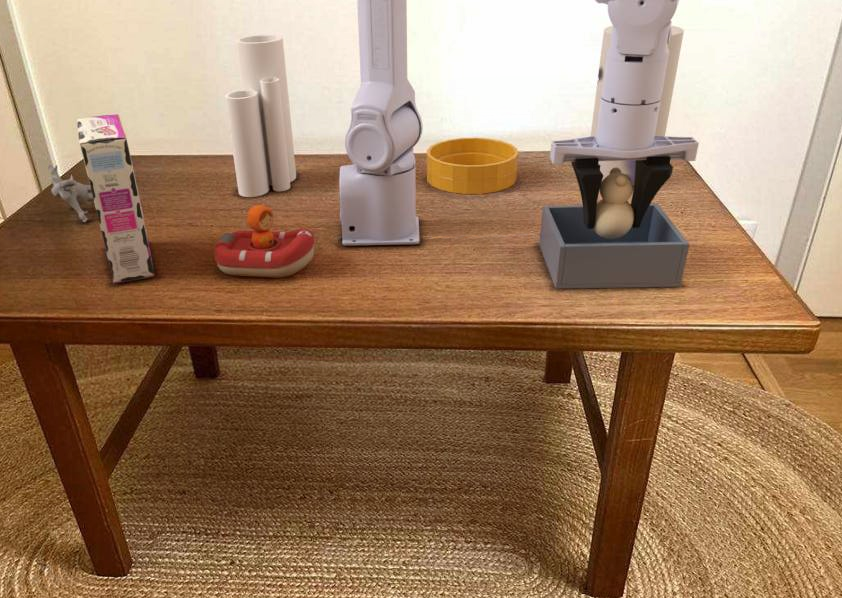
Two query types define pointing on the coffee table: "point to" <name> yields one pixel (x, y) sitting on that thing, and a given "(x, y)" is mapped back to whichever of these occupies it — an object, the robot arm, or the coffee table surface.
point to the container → (665, 103)
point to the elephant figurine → (70, 191)
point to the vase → (261, 117)
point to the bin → (611, 251)
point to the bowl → (472, 165)
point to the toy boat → (264, 248)
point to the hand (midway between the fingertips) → (611, 224)
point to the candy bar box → (115, 197)
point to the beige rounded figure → (614, 206)
